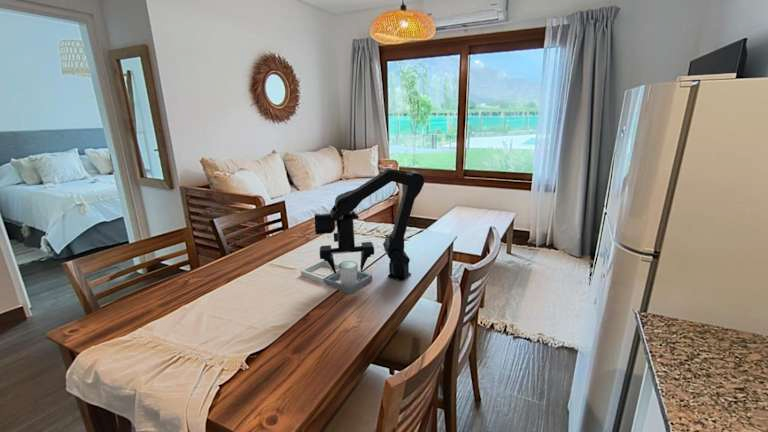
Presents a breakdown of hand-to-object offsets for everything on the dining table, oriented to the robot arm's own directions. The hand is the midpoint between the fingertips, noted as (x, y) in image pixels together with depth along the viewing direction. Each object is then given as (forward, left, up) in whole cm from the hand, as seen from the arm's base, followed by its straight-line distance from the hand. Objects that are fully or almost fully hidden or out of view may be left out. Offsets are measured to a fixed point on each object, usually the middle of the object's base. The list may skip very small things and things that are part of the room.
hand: (348, 272), depth 124 cm
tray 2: (0, 0, -4) cm, 4 cm away
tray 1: (+13, 0, -4) cm, 14 cm away
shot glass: (0, 0, -4) cm, 4 cm away
